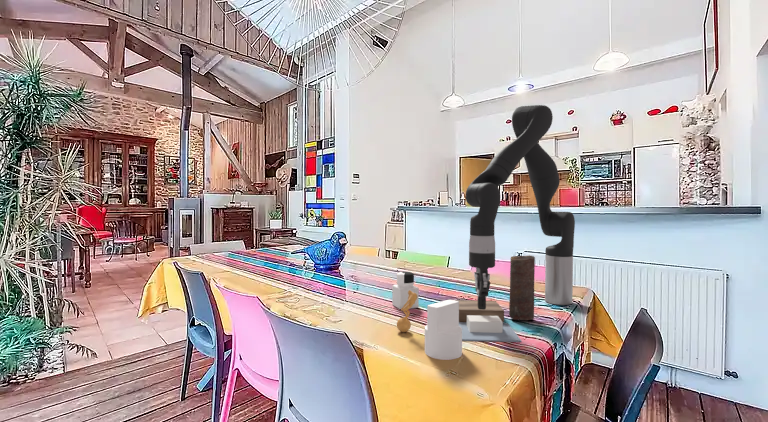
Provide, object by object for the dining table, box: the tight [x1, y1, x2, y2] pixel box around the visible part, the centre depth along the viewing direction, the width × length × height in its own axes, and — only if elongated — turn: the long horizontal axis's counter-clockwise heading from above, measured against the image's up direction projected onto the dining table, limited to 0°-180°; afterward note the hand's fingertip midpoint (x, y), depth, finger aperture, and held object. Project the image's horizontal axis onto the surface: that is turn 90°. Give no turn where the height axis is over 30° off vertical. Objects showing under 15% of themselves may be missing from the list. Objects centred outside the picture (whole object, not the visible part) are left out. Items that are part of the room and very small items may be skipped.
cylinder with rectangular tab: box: [424, 299, 463, 361], centre depth 96 cm, size 9×9×12 cm
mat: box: [459, 322, 522, 343], centre depth 111 cm, size 15×16×1 cm
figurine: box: [396, 290, 417, 333], centre depth 111 cm, size 8×6×12 cm
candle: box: [508, 255, 536, 321], centre depth 122 cm, size 8×7×20 cm
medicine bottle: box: [391, 271, 420, 310], centre depth 139 cm, size 7×7×12 cm
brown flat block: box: [454, 299, 505, 323], centre depth 125 cm, size 12×14×4 cm
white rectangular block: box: [467, 315, 503, 333], centre depth 113 cm, size 6×9×3 cm, turn 86°
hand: (481, 308), depth 117 cm, fingers closed
